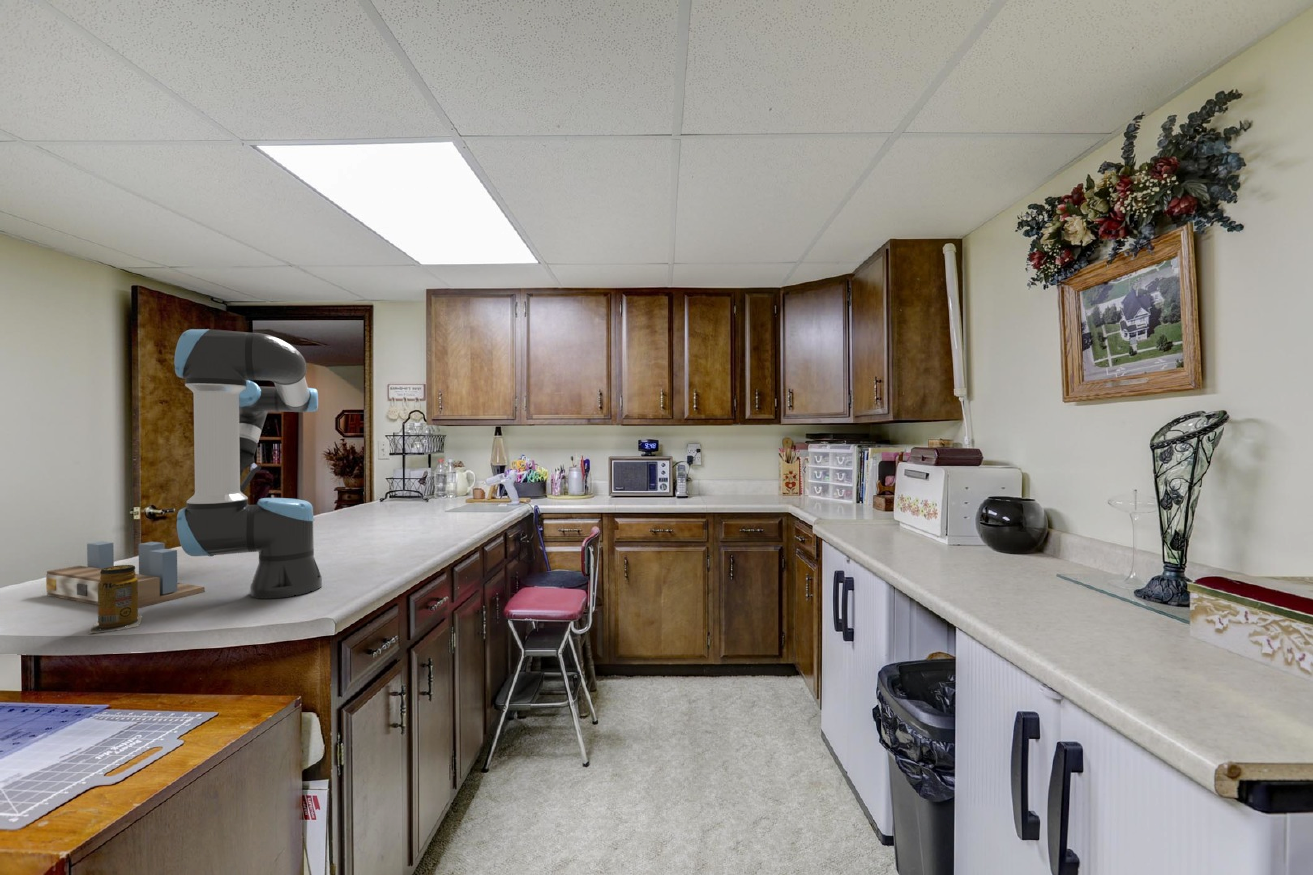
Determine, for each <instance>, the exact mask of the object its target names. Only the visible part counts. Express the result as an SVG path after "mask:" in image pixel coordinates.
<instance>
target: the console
mask: <svg viewBox="0 0 1313 875" xmlns="http://www.w3.org/2000/svg"><path fill="white" fill-rule="evenodd" d="M101 570H102V569H99V568H92V567H87V566H84V565H74V566H69V567H64V568H63V567H62V568H57V569H53V570H46V574H45V575H46V577H45V579H46V581H45V583H46V585H45V586H46V595H47V596H48V595H49V597H53V598H58V599H59V598H60V599H65V600H70V599H71V601H75V600H76V602H82V603H87V604H91V605H97V606H98V584H99V582H100V581H101V579H100V577H101V573H100V572H101ZM135 577H136V578H137V579H138V609H139V608H142V607H147V606H152V605H154V604H155V605H156V604H160V603H164V602H168V601H172V600H175V599H179V598H183V597H188V596H192V595H196V594H200V593H204V592H206V590H205V586H201V585H195V584H187V583H180V582H177V591H175V592H171V593H167V594H160V578H159V577H154V576H147V575H140V574H139V573H136V574H135Z"/></svg>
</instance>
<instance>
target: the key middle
mask: <svg viewBox="0 0 1313 875" xmlns="http://www.w3.org/2000/svg"><path fill="white" fill-rule="evenodd" d="M165 544H166V543H165V542H159V541H148V542H142V543H138V574H140V575H147V576H150V555H149V551H153V550H159V549H166V548H165Z"/></svg>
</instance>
